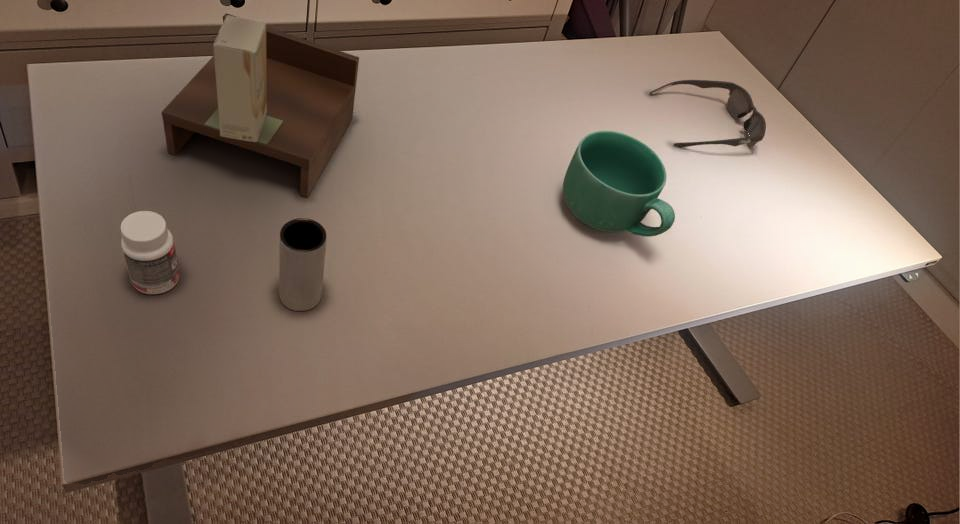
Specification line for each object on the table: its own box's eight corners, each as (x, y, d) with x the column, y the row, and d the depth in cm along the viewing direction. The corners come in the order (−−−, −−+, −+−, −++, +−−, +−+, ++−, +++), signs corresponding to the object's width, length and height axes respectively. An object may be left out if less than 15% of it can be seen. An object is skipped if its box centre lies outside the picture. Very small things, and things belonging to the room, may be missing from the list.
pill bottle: (186, 286, 70) (177, 235, 64) (139, 301, 68) (125, 250, 62) (171, 255, 72) (161, 202, 66) (124, 268, 70) (110, 215, 64)
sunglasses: (763, 159, 112) (777, 137, 108) (672, 160, 109) (682, 136, 105) (728, 98, 122) (739, 76, 118) (643, 97, 119) (652, 74, 115)
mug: (537, 190, 93) (559, 139, 86) (601, 171, 100) (626, 122, 93) (609, 276, 86) (639, 228, 79) (673, 249, 92) (706, 202, 85)
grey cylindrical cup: (293, 318, 71) (295, 258, 63) (271, 289, 73) (270, 227, 65) (329, 300, 73) (335, 240, 66) (307, 273, 75) (310, 211, 67)
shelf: (307, 198, 82) (310, 133, 74) (167, 153, 81) (156, 83, 74) (352, 120, 94) (359, 57, 86) (230, 80, 93) (226, 12, 85)
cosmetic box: (257, 144, 77) (255, 54, 68) (219, 137, 76) (211, 45, 67) (268, 110, 81) (267, 21, 72) (231, 103, 80) (226, 12, 71)
